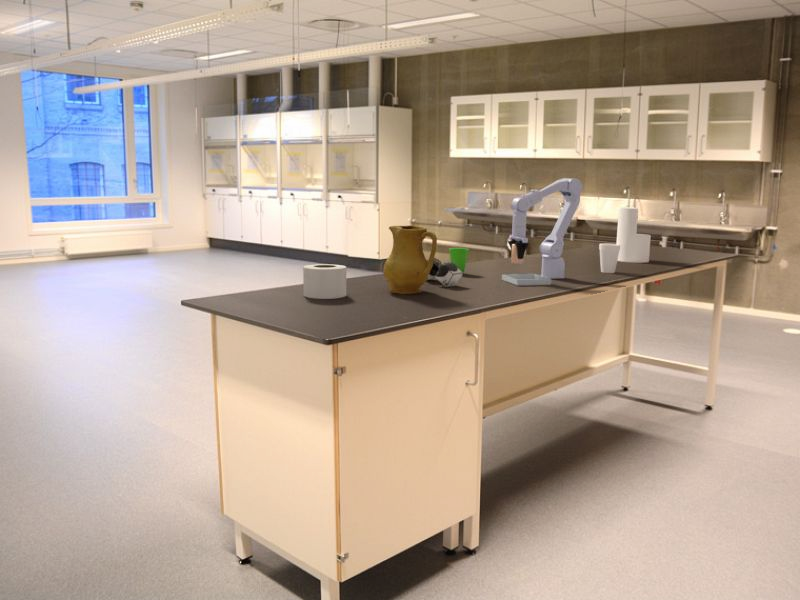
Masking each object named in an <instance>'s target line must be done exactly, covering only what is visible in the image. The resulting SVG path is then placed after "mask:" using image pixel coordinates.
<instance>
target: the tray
mask: <svg viewBox="0 0 800 600" xmlns="http://www.w3.org/2000/svg"><path fill="white" fill-rule="evenodd" d="M540 275H541V274H536V273H527V274H526V273H525V274H523V273H521V274H520V273H518V274H517V273H515V274H514V273H513V274H510V273H509V274H501V281H502V282H505V283H508V284H511V285H514V286H517V287H520V286H521V287H522V286H524V287H525V286H527V287H528V286H552V279H549V278H546V277H543V276H540Z"/></svg>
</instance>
